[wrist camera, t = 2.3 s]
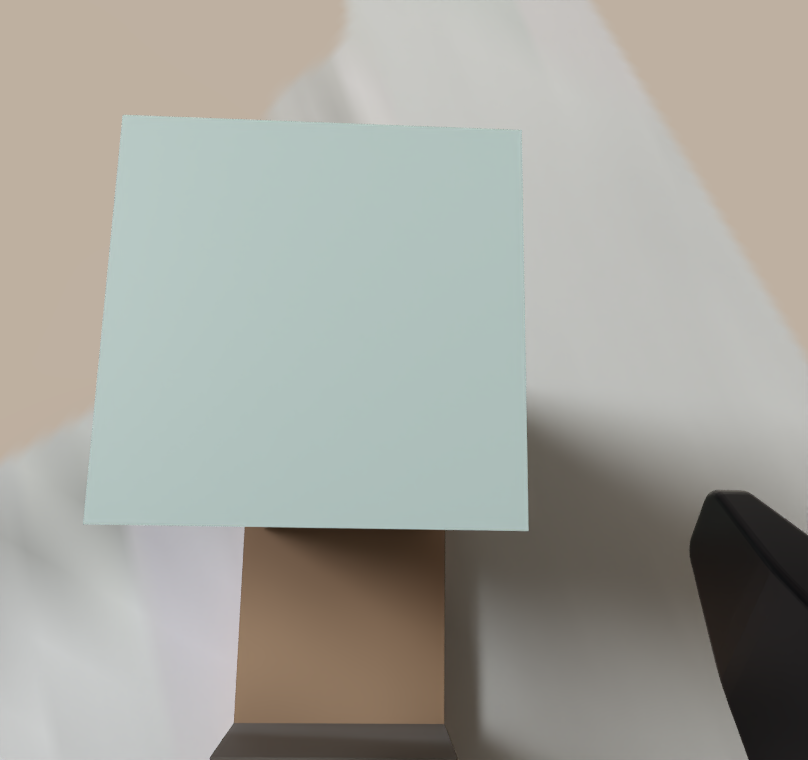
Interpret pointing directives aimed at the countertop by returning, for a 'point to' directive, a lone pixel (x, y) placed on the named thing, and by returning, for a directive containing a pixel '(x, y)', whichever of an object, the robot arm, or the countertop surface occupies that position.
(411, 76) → the countertop surface
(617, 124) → the countertop surface
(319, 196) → the block
